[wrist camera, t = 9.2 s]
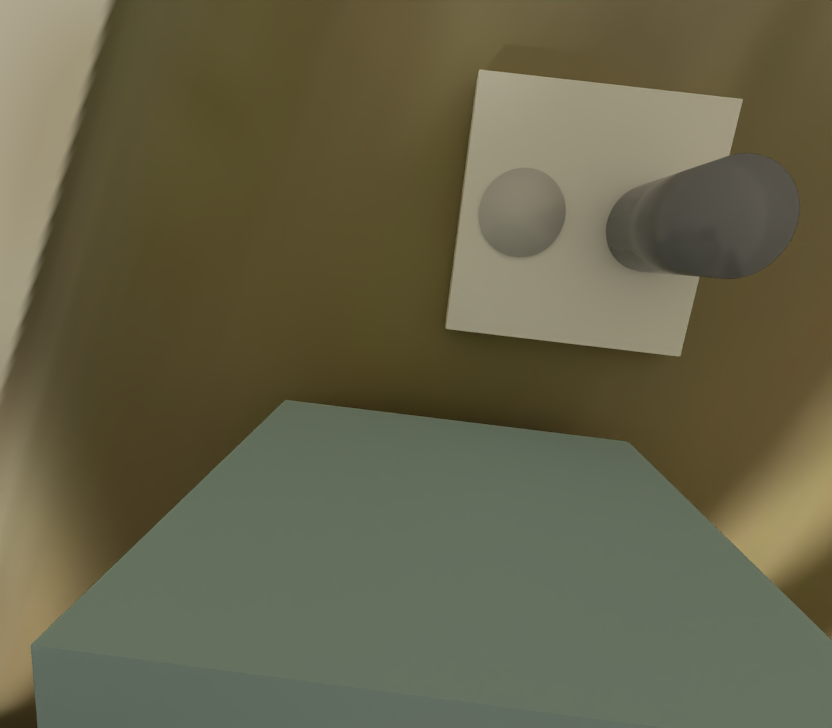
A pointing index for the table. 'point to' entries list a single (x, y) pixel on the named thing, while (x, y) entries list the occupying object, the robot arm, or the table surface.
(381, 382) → the table surface
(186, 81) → the table surface
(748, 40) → the table surface
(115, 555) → the table surface
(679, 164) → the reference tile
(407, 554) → the block
